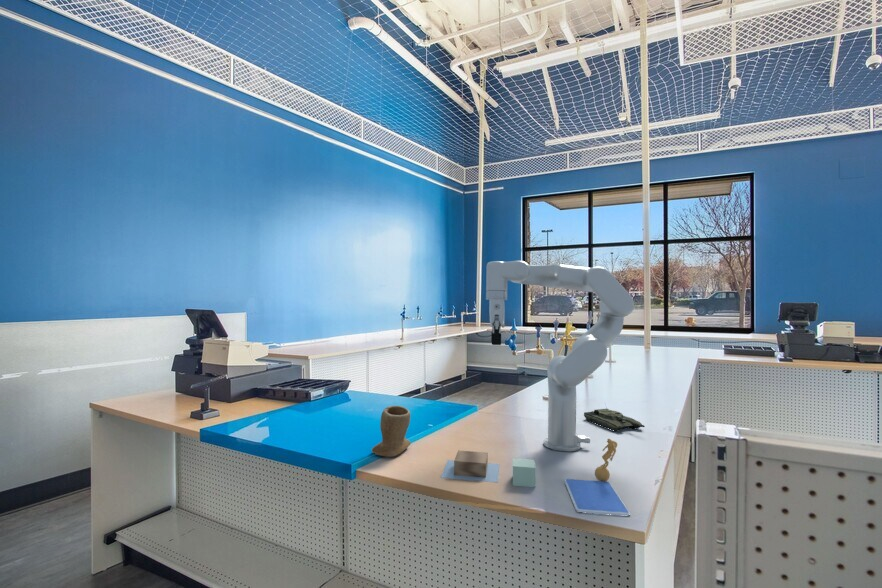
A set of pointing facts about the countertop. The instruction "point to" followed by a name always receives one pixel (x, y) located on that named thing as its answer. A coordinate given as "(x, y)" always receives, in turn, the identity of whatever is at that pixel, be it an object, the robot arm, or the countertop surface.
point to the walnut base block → (471, 464)
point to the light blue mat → (490, 476)
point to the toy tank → (611, 419)
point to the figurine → (602, 471)
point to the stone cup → (393, 431)
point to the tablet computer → (595, 497)
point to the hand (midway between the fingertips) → (496, 343)
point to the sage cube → (524, 472)
